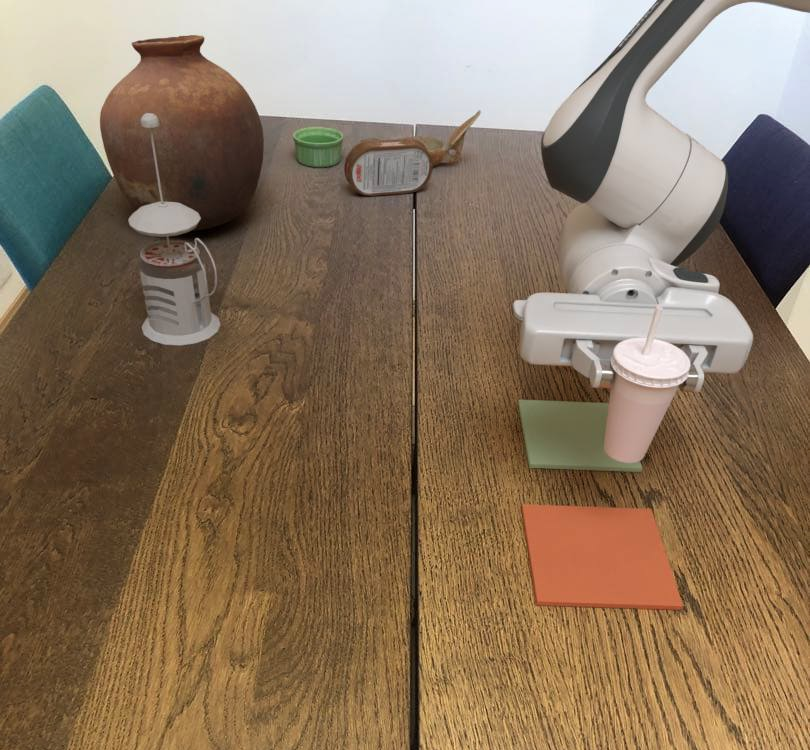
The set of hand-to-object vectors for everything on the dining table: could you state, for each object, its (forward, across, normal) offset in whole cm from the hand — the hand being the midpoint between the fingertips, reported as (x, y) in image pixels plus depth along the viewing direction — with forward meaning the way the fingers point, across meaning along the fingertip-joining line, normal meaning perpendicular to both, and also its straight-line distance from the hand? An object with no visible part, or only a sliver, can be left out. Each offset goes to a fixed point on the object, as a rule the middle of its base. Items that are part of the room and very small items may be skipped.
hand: (649, 383), depth 68 cm
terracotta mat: (+4, -1, +17) cm, 17 cm away
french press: (-35, -48, +18) cm, 62 cm away
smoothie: (-1, 0, +8) cm, 8 cm away
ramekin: (-97, -36, +18) cm, 105 cm away
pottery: (-68, -53, +18) cm, 88 cm away
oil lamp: (-98, -18, +18) cm, 102 cm away
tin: (-83, -23, +18) cm, 88 cm away
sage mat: (-16, 0, +17) cm, 23 cm away
